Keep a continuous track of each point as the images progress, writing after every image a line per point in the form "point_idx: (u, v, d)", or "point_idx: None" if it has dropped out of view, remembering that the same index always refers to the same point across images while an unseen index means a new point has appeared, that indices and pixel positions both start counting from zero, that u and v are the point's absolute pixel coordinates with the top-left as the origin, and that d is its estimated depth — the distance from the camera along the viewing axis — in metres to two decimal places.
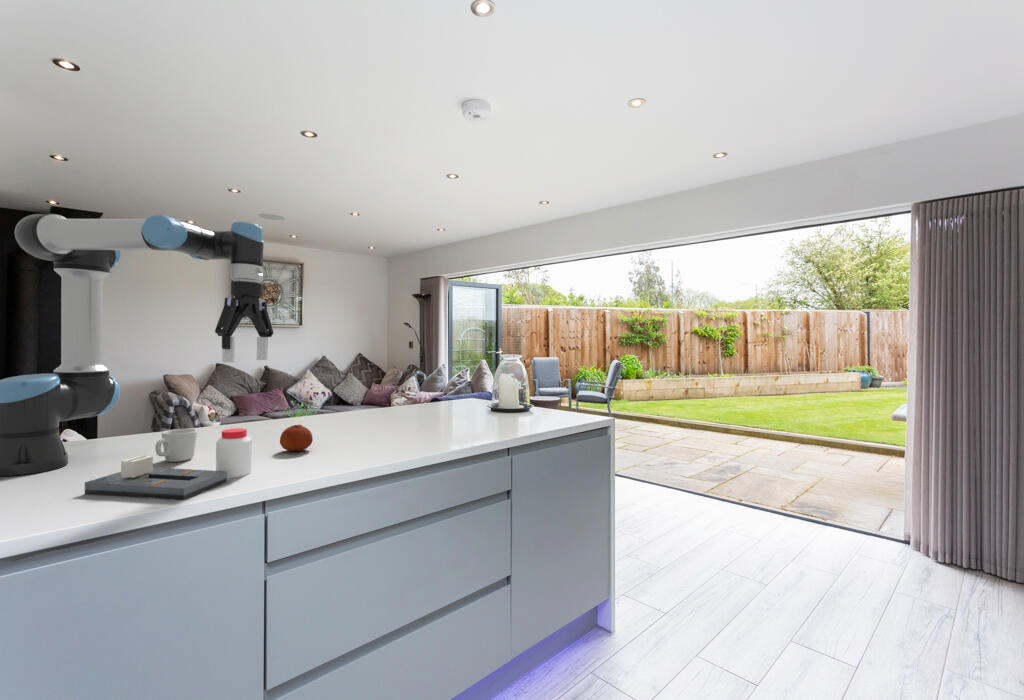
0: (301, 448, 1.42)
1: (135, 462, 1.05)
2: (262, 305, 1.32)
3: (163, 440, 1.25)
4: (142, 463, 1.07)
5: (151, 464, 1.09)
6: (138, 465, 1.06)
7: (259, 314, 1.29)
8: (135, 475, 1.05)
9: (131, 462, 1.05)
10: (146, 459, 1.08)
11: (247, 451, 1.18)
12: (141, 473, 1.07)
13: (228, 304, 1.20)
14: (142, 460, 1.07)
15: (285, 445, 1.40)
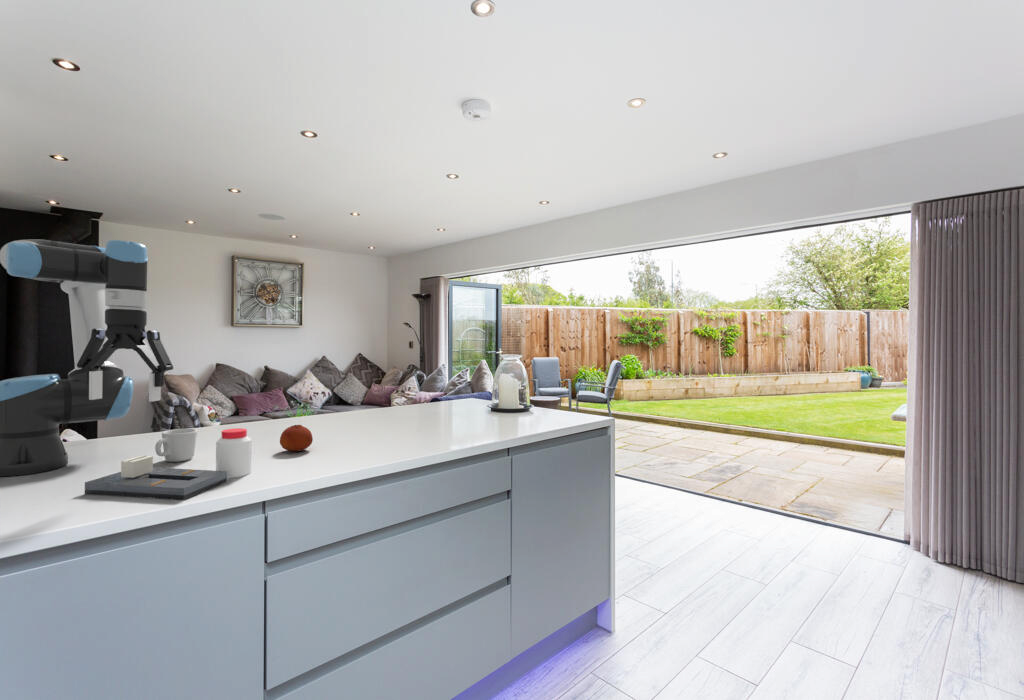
0: (301, 448, 1.42)
1: (135, 462, 1.05)
2: None
3: (163, 440, 1.25)
4: (142, 463, 1.07)
5: (151, 464, 1.09)
6: (138, 465, 1.06)
7: (132, 346, 1.08)
8: (135, 475, 1.05)
9: (131, 462, 1.05)
10: (146, 459, 1.08)
11: (247, 451, 1.18)
12: (141, 473, 1.07)
13: None
14: (142, 460, 1.07)
15: (285, 445, 1.40)
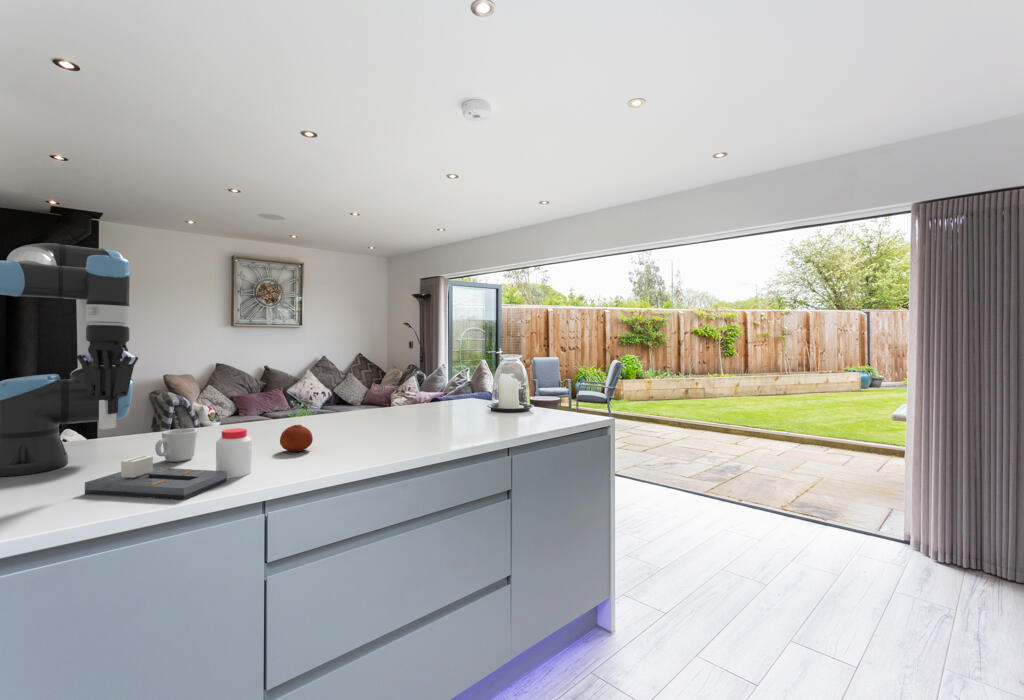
0: (301, 448, 1.42)
1: (135, 462, 1.05)
2: None
3: (163, 440, 1.25)
4: (142, 463, 1.07)
5: (151, 464, 1.09)
6: (138, 465, 1.06)
7: (105, 364, 1.06)
8: (135, 475, 1.05)
9: (131, 462, 1.05)
10: (146, 459, 1.08)
11: (247, 451, 1.18)
12: (141, 473, 1.07)
13: None
14: (142, 460, 1.07)
15: (285, 445, 1.40)
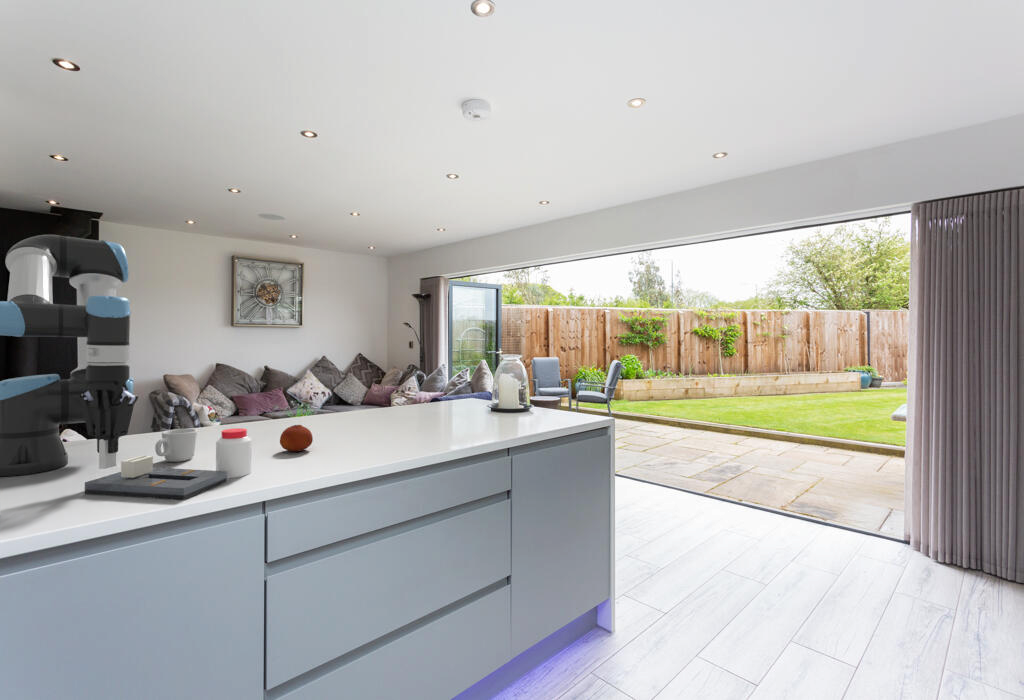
0: (301, 448, 1.42)
1: (135, 462, 1.05)
2: None
3: (163, 440, 1.25)
4: (142, 463, 1.07)
5: (151, 464, 1.09)
6: (138, 465, 1.06)
7: (105, 405, 1.06)
8: (135, 475, 1.05)
9: (131, 462, 1.05)
10: (146, 459, 1.08)
11: (247, 451, 1.18)
12: (141, 473, 1.07)
13: None
14: (142, 460, 1.07)
15: (285, 445, 1.40)
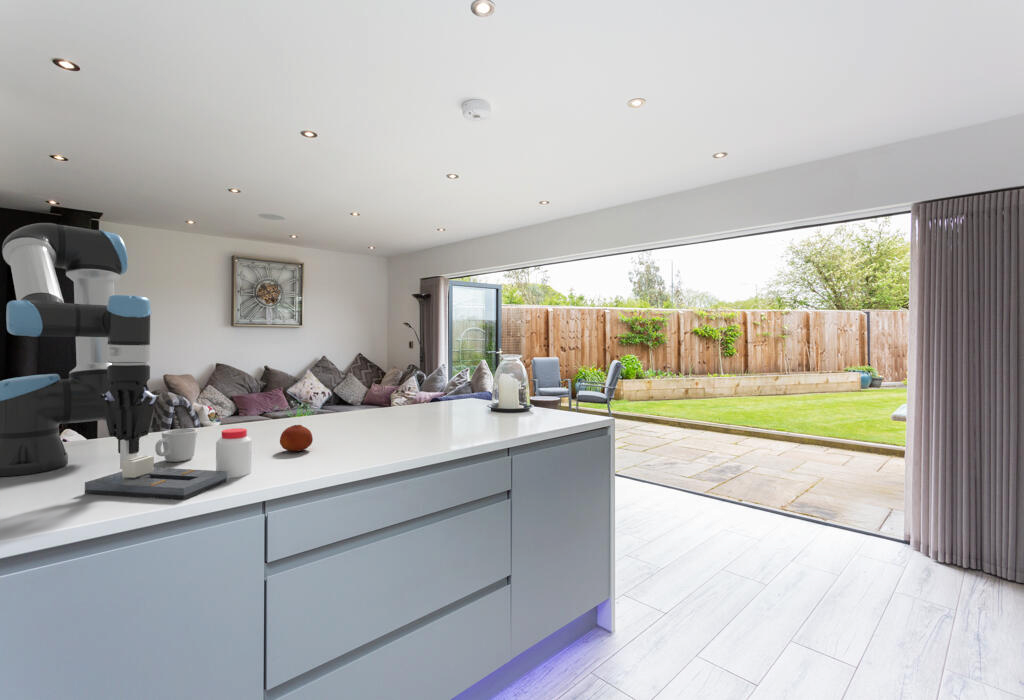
0: (301, 448, 1.42)
1: (136, 462, 1.05)
2: None
3: (163, 440, 1.25)
4: (143, 463, 1.07)
5: (152, 464, 1.09)
6: (139, 465, 1.06)
7: (126, 405, 1.05)
8: (136, 475, 1.05)
9: (132, 462, 1.05)
10: (147, 459, 1.08)
11: (247, 451, 1.18)
12: (142, 473, 1.07)
13: None
14: (143, 460, 1.07)
15: (285, 445, 1.40)
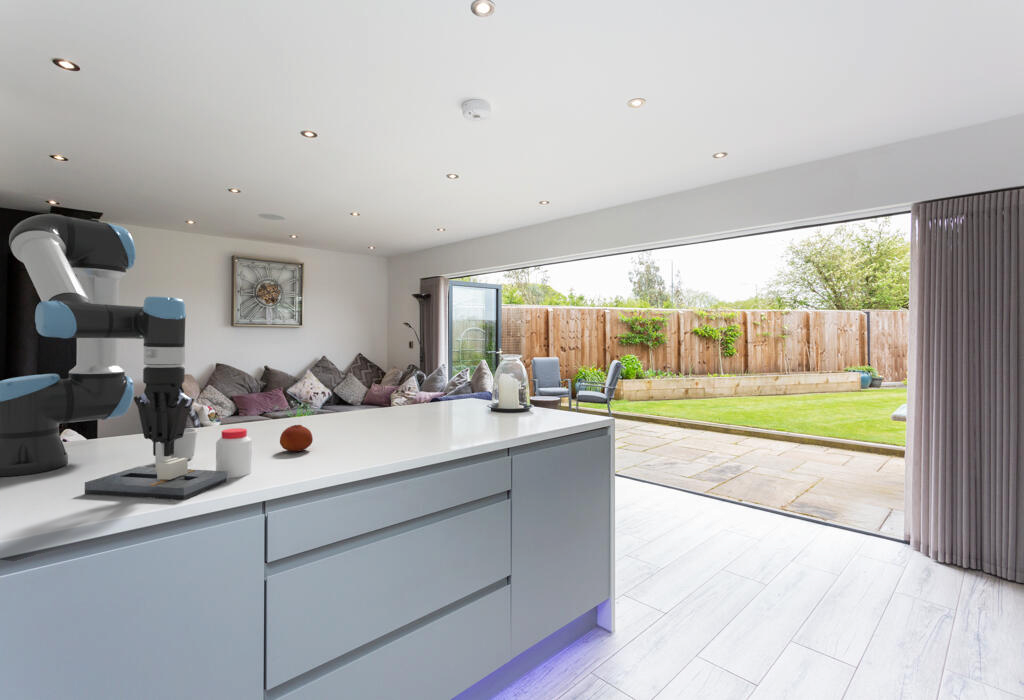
0: (301, 448, 1.42)
1: (171, 464, 1.04)
2: None
3: None
4: (178, 465, 1.06)
5: (186, 466, 1.09)
6: (174, 467, 1.05)
7: (162, 407, 1.05)
8: (171, 477, 1.04)
9: (167, 464, 1.04)
10: (181, 461, 1.07)
11: (247, 451, 1.18)
12: (177, 475, 1.06)
13: None
14: (178, 462, 1.06)
15: (285, 445, 1.40)
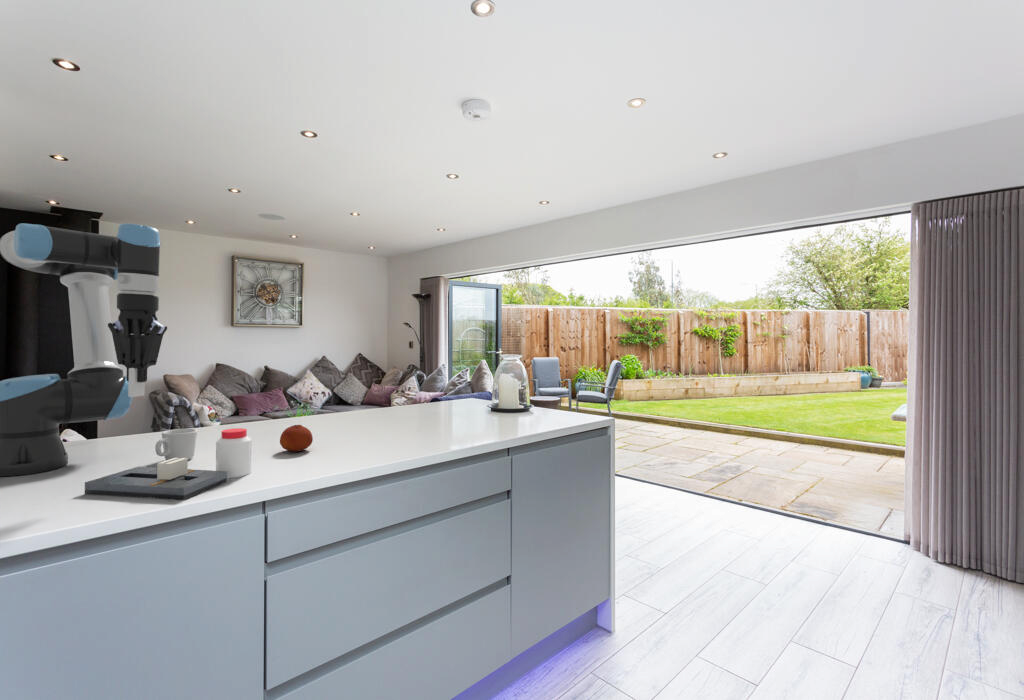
0: (301, 448, 1.42)
1: (171, 464, 1.04)
2: None
3: (163, 440, 1.25)
4: (178, 465, 1.06)
5: (186, 466, 1.09)
6: (174, 467, 1.05)
7: (135, 333, 1.07)
8: (171, 477, 1.04)
9: (167, 464, 1.04)
10: (181, 461, 1.07)
11: (247, 451, 1.18)
12: (177, 475, 1.06)
13: None
14: (178, 462, 1.06)
15: (285, 445, 1.40)
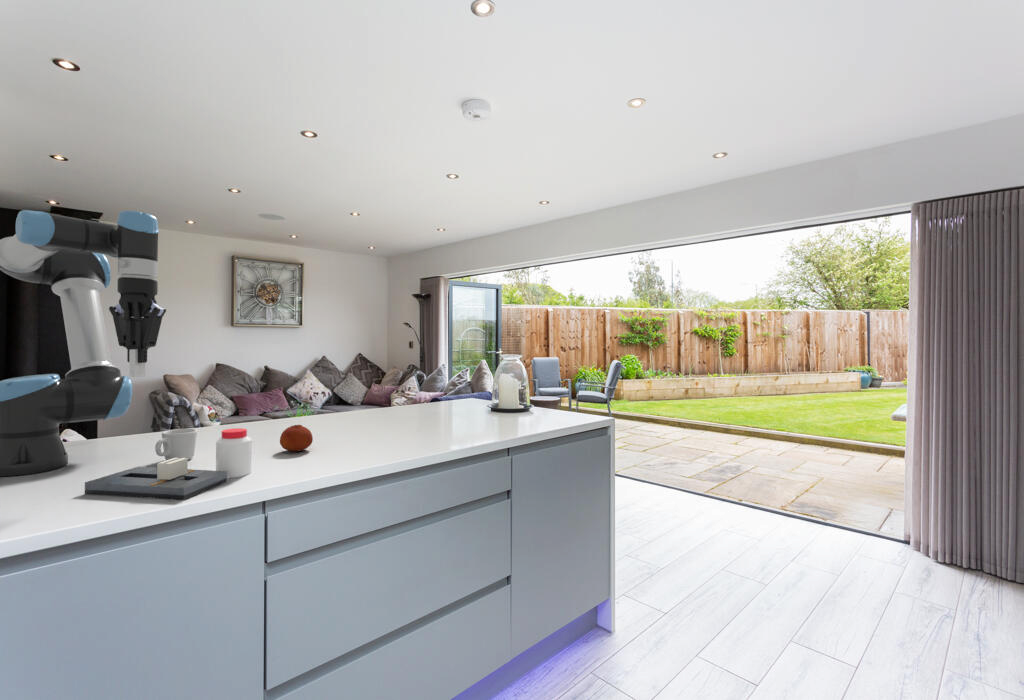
0: (301, 448, 1.42)
1: (171, 464, 1.04)
2: None
3: (163, 440, 1.25)
4: (178, 465, 1.06)
5: (186, 466, 1.09)
6: (174, 467, 1.05)
7: (135, 315, 1.11)
8: (171, 477, 1.04)
9: (167, 464, 1.04)
10: (181, 461, 1.07)
11: (247, 451, 1.18)
12: (177, 475, 1.06)
13: None
14: (178, 462, 1.06)
15: (285, 445, 1.40)
